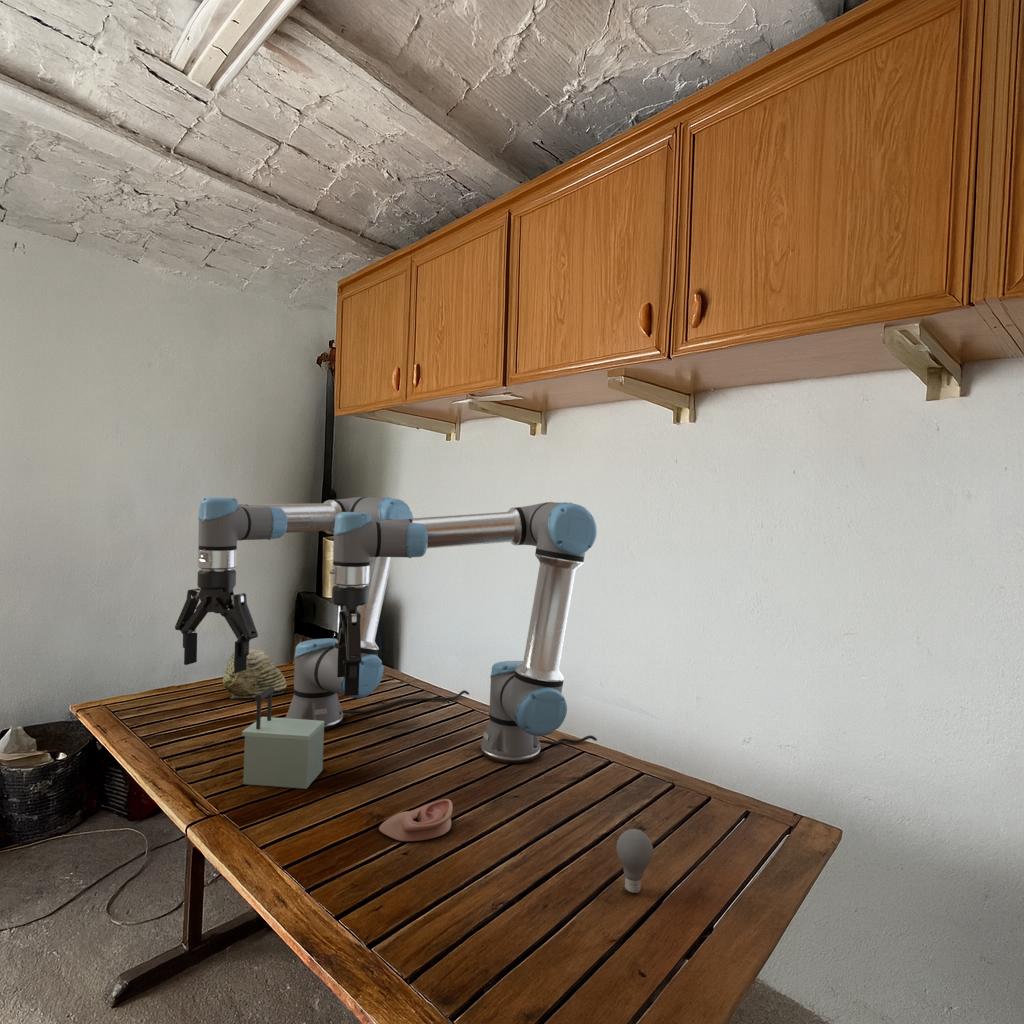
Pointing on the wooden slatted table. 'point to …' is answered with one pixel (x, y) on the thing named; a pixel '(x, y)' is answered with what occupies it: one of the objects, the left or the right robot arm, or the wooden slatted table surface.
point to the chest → (283, 761)
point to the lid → (280, 723)
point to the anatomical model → (420, 822)
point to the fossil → (253, 676)
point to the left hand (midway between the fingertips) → (214, 667)
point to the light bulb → (634, 857)
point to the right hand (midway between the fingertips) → (347, 685)
